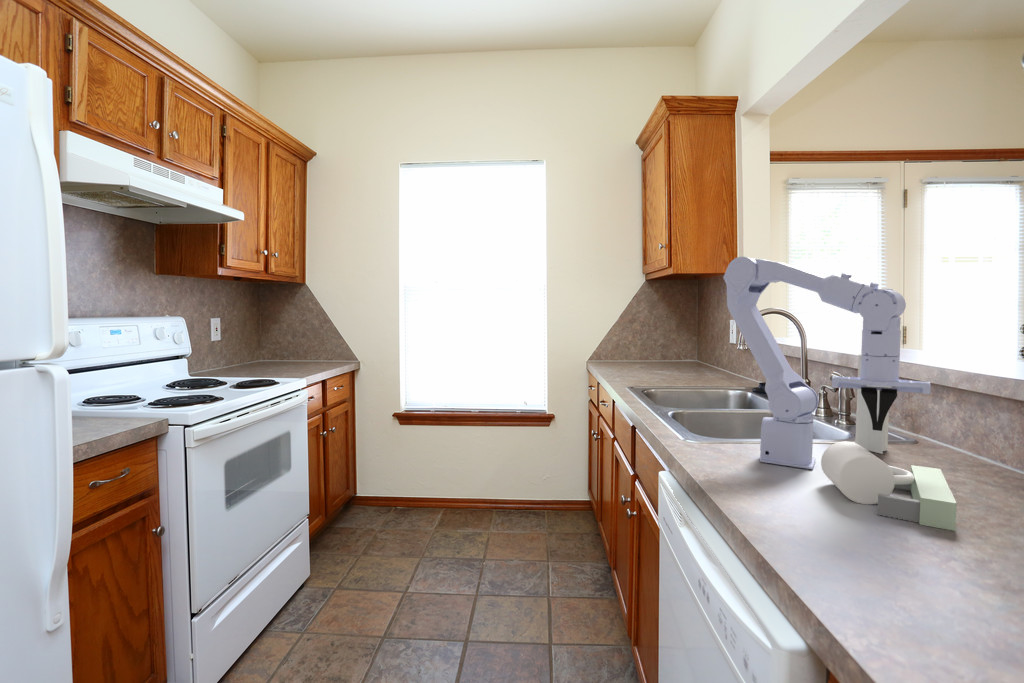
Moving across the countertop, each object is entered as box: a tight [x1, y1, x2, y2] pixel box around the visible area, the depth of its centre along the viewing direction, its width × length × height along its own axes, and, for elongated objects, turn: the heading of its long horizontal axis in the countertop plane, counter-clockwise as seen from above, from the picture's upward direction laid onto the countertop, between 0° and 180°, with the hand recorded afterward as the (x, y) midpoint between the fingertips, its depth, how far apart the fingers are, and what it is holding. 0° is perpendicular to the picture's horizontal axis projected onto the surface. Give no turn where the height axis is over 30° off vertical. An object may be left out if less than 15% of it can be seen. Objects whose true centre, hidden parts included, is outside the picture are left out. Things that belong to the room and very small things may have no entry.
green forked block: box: [877, 464, 958, 532], centre depth 83 cm, size 9×19×4 cm, turn 146°
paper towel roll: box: [854, 353, 891, 455], centre depth 115 cm, size 7×6×21 cm
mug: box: [820, 440, 915, 505], centre depth 87 cm, size 12×10×8 cm
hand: (877, 429), depth 95 cm, fingers closed
